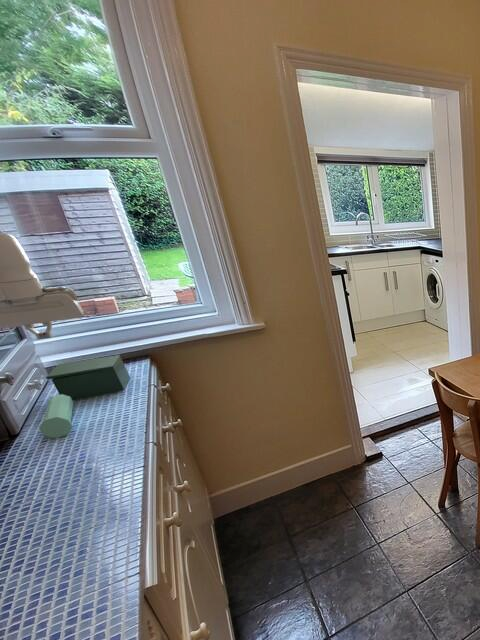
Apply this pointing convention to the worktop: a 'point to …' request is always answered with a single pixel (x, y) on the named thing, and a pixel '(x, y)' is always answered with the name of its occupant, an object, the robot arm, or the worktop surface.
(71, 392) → the case
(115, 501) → the worktop surface
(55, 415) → the light green cylinder
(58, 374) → the case lid
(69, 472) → the worktop surface
